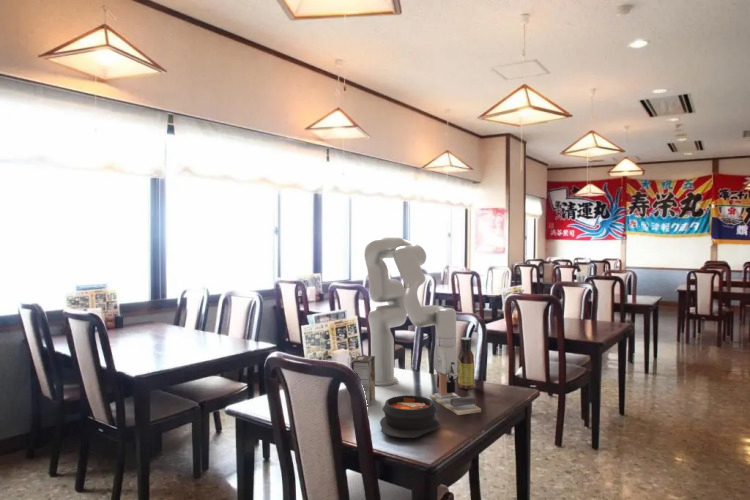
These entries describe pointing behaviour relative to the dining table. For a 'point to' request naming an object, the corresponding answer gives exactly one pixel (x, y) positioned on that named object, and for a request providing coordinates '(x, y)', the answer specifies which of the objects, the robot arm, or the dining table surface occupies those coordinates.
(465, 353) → the sauce bottle
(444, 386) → the tan and white stand
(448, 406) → the ticket board
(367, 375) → the coffee box
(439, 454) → the dining table surface
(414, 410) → the casserole
